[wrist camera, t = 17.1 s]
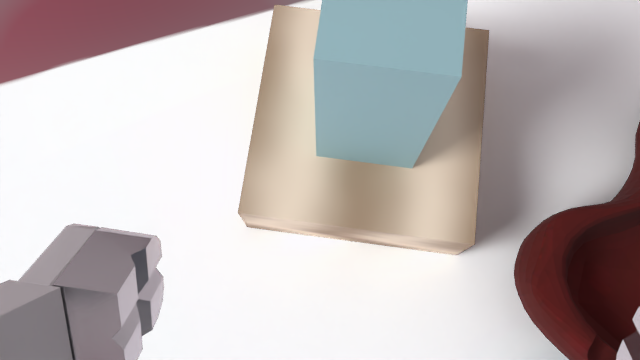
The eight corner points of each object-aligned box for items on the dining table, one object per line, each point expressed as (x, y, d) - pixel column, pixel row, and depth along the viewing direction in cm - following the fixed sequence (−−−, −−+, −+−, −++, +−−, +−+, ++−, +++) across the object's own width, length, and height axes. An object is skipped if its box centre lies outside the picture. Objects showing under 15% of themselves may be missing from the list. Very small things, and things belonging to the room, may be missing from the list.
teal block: (420, 80, 31) (471, -51, 21) (412, 168, 30) (461, 77, 19) (329, 68, 32) (332, -67, 21) (316, 155, 30) (313, 58, 20)
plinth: (471, 63, 36) (489, 30, 32) (456, 255, 33) (474, 244, 29) (279, 39, 36) (274, 4, 33) (247, 227, 33) (237, 212, 29)
